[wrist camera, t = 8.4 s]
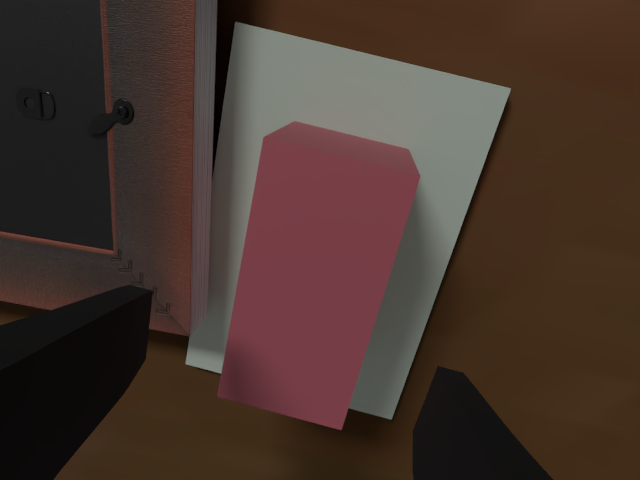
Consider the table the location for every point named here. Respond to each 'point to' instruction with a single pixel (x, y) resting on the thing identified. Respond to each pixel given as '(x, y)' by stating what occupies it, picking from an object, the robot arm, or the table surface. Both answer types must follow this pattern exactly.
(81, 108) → the picture frame
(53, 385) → the robot arm
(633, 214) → the table surface
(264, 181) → the card box
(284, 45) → the sage mat
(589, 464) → the table surface
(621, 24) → the table surface
